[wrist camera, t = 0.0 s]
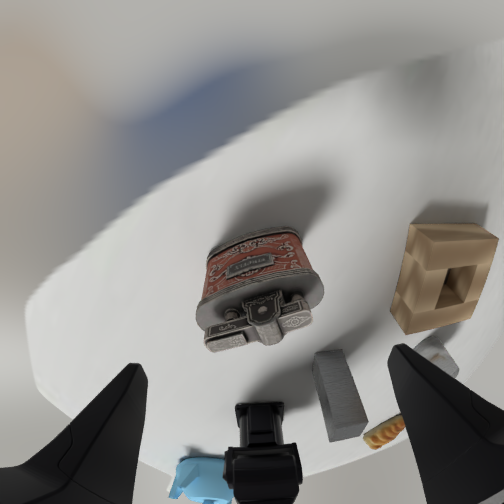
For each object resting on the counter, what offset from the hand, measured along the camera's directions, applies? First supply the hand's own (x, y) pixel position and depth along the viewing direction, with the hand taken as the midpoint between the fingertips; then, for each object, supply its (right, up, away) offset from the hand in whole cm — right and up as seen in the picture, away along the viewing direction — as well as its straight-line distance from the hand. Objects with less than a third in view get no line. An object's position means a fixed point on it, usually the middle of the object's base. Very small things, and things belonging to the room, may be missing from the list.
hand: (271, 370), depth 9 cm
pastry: (+25, -30, +33) cm, 51 cm away
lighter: (-1, +4, +15) cm, 15 cm away
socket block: (+19, +2, +16) cm, 25 cm away
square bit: (+8, -9, +21) cm, 24 cm away
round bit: (+23, -10, +22) cm, 33 cm away
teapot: (-10, -41, +36) cm, 56 cm away
